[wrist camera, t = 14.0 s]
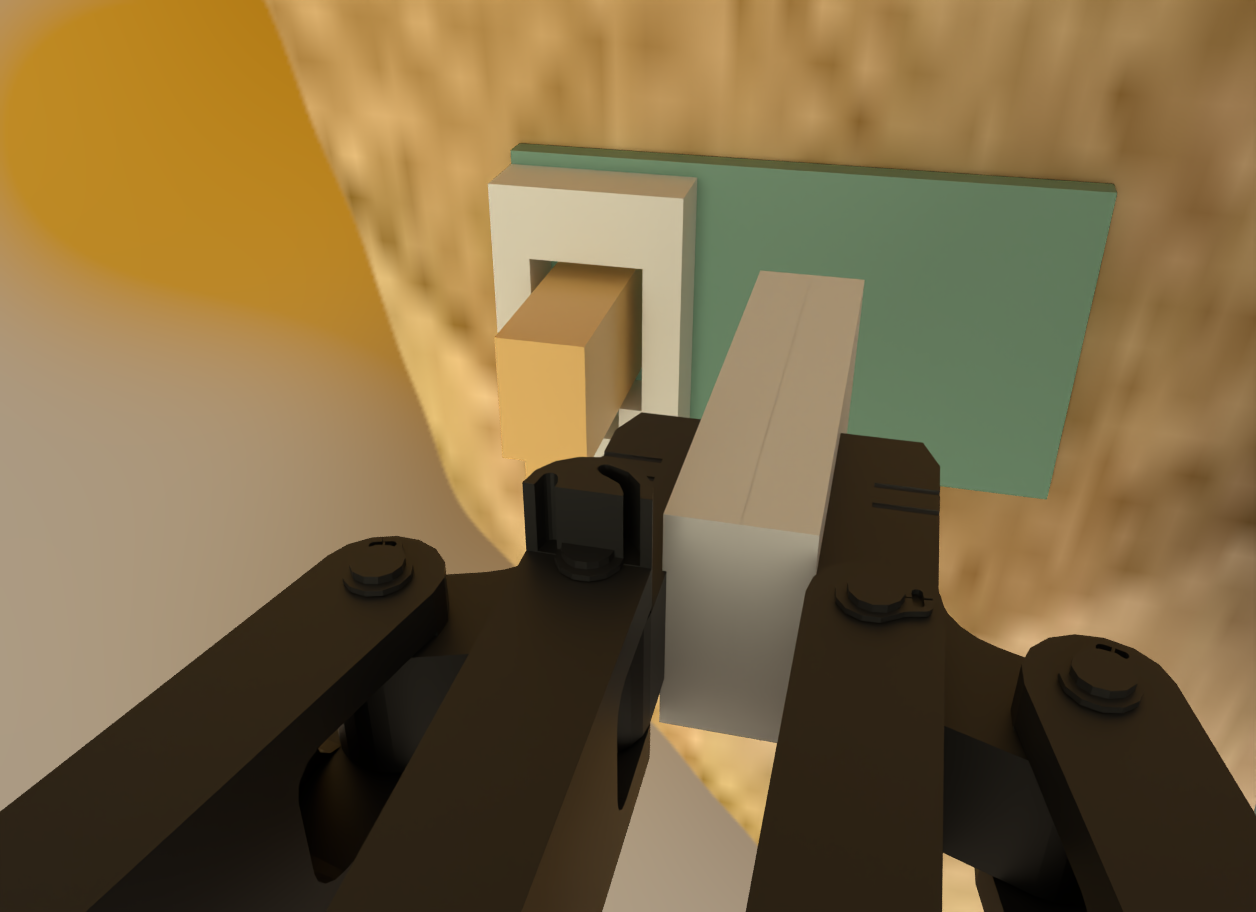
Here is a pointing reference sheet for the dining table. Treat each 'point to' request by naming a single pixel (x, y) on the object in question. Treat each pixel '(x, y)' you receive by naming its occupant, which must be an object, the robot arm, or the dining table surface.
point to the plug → (568, 362)
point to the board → (835, 247)
